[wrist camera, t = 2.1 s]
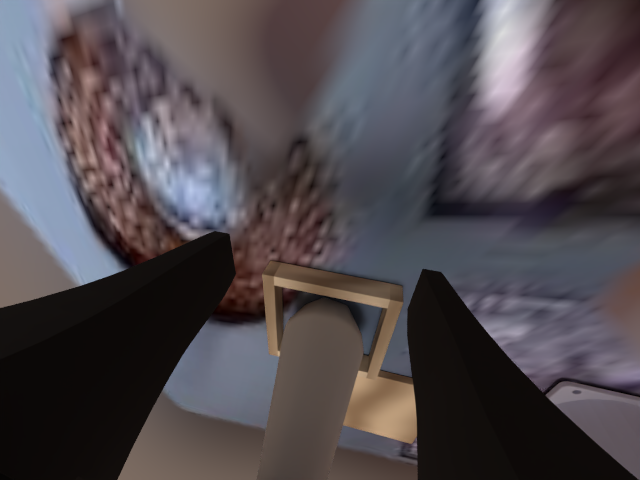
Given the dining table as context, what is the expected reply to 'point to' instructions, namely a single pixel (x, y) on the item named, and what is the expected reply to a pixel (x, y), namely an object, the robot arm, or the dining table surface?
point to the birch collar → (336, 288)
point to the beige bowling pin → (311, 392)
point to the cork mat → (384, 406)
